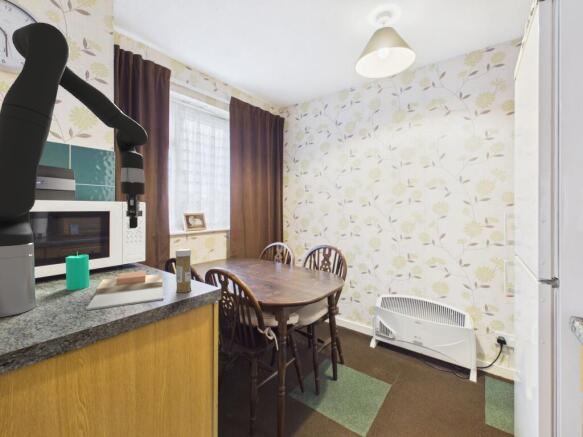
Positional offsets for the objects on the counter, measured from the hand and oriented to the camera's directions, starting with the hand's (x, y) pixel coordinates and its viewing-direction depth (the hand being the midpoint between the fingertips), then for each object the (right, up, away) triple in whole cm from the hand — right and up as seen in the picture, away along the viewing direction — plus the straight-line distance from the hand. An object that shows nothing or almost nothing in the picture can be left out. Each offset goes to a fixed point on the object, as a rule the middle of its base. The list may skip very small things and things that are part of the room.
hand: (133, 227), depth 97 cm
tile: (+5, -18, -8) cm, 20 cm away
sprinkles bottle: (+24, -20, -13) cm, 34 cm away
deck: (+5, -20, -8) cm, 22 cm away
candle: (-13, -20, -9) cm, 25 cm away
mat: (+10, -20, -19) cm, 30 cm away
